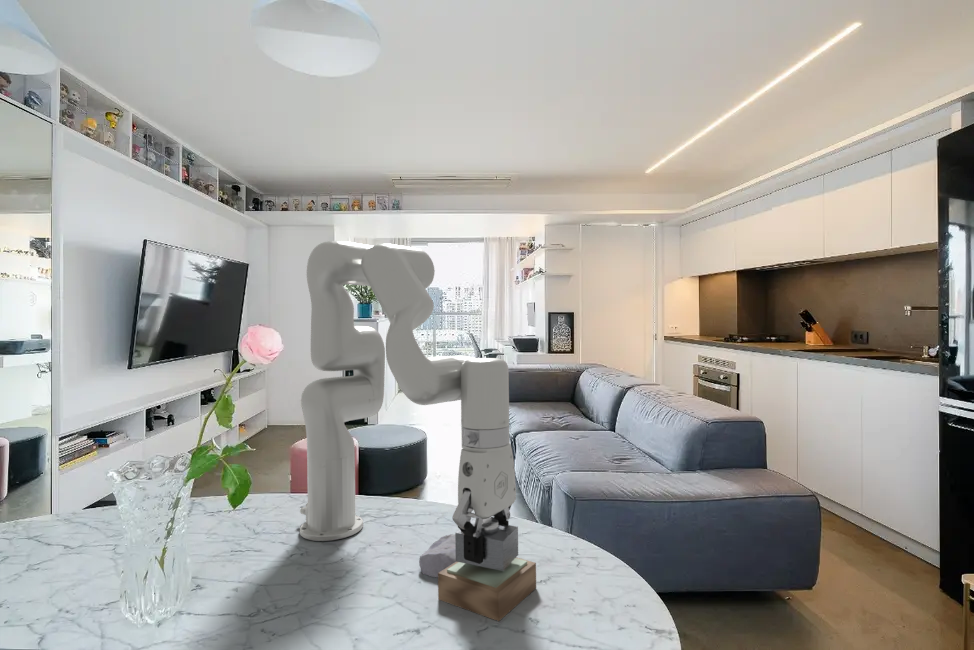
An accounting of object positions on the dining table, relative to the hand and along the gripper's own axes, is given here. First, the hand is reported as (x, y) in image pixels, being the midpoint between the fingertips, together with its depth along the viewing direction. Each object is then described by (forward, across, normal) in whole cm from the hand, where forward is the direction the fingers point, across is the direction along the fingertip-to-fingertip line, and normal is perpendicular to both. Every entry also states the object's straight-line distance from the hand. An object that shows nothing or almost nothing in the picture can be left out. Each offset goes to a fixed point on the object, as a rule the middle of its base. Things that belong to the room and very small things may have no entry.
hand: (487, 551), depth 79 cm
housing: (+1, 0, 0) cm, 1 cm away
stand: (+7, 0, 0) cm, 7 cm away
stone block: (+7, +6, +11) cm, 14 cm away
